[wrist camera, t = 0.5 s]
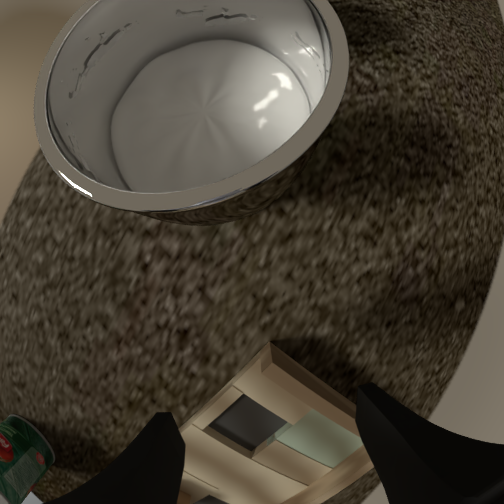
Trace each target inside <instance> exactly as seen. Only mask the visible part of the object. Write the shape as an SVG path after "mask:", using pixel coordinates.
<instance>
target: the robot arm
mask: <svg viewBox="0 0 504 504" xmlns="http://www.w3.org/2000/svg"><path fill="white" fill-rule="evenodd" d="M355 422H356V425H357V428H358V432H359V435H360V438H361V440H362V443H363V445H364V447H365V449H366V451H367V453H368V455H369V457H370V459H371V461H372V463H373V465H374V467H375V469H376V471H377V473H378V475H379V477H380V480H381V482H382V484H383V486H384V489H385V492H386V495H387V497H388V501H389V504H504V444H495V443H489V442H484V441H479V440H475V439H472V438H468V437H465V436H462V435H459V434H456V433H453V432H451V431H448V430H446V429H444V428H442V427H439V426H437V425H435V424H433V423H431V422H429V421H428V420H426V419H424V418H422V417H421V416H419V415H417V414H416V413H414V412H413V411H411V410H410V409H408V408H407V407H405V406H404V405H402V404H401V403H399V402H398V401H397V400H395V399H394V398H393V397H391V396H390V395H389V394H387V393H386V392H385V391H383V390H382V389H381V388H379V387H378V386H377V385H376V384H374V383H373V382H371V383H368V384H364V385H360V386H358V390H357V404H356V417H355ZM185 449H186V444H185V442H184V440H183V438H182V436H181V433H180V431H179V429H178V427H177V425H176V422H175V420H174V418H173V416H172V413H171V412H157V413H156V414H155V415H154V416H153V418H152V419H151V420H150V421H149V422H148V423H147V425H146V426H145V427H144V428H143V429H142V431H141V432H140V433H139V434H138V435H137V437H136V438H135V439H134V440H133V441H132V442H131V443H130V444H129V446H128V447H127V448H126V449H125V450H124V451H123V452H122V453H121V454H120V455H119V456H118V457H117V458H116V459H115V460H114V461H113V462H112V463H111V464H110V465H109V466H107V467H106V468H105V469H104V470H103V471H101V472H100V473H99V474H98V475H96V476H95V477H94V478H92V479H91V480H89V481H88V482H86V483H84V484H83V485H81V486H80V487H78V488H77V489H75V490H73V491H71V492H69V493H67V494H65V495H63V496H61V497H59V498H57V499H54V500H52V501H49V502H46V503H43V504H177V500H178V495H179V490H180V485H181V481H182V476H183V471H184V465H185Z"/></svg>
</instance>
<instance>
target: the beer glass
mask: <svg viewBox="0 0 504 504" xmlns="http://www.w3.org/2000/svg"><path fill="white" fill-rule="evenodd" d="M348 74H349V48H348V42H347V38H346V34H345V31H344V28H343V26H342V23H341V21H340V19H339V17H338V15H337V13H336V12H335V10H334V9H333V7H332V6H331V4H330V3H329V2H328V1H327V0H88V1H87V2H85V3H84V4H83V5H82V6H81V7H80V8H79V9H78V10H77V12H75V14H74V15H73V16H72V17H71V18H70V19H69V20H68V22H67V23H66V24H65V25H64V27H63V28H62V29H61V31H60V32H59V34H58V36H57V37H56V39H55V40H54V42H53V43H52V46H51V47H50V49H49V51H48V53H47V55H46V57H45V60H44V62H43V65H42V67H41V70H40V73H39V77H38V81H37V85H36V90H35V98H34V121H35V128H36V133H37V137H38V141H39V144H40V146H41V149H42V151H43V154H44V156H45V158H46V159H47V161H48V163H49V164H50V166H51V167H52V169H53V170H54V171H55V173H56V174H57V175H58V176H59V177H60V178H61V179H62V180H63V181H64V182H65V183H66V184H67V185H68V186H70V187H71V188H72V189H73V190H75V191H76V192H78V193H79V194H81V195H82V196H84V197H86V198H88V199H90V200H92V201H94V202H96V203H99V204H101V205H104V206H107V207H110V208H114V209H118V210H123V211H129V212H134V213H137V214H140V215H143V216H147V217H150V218H153V219H157V220H161V221H164V222H169V223H176V224H183V225H191V226H210V225H219V224H224V223H229V222H233V221H236V220H240V219H243V218H245V217H248V216H250V215H252V214H254V213H256V212H258V211H260V210H262V209H263V208H265V207H267V206H268V205H270V204H271V203H273V202H274V201H275V200H277V199H278V198H279V197H280V196H281V195H283V194H284V193H285V192H286V191H287V190H288V189H289V188H290V187H291V186H292V184H293V183H294V182H295V181H296V179H297V178H298V177H299V175H300V174H301V173H302V171H303V170H304V168H305V167H306V166H307V164H308V163H309V161H310V159H311V158H312V156H313V154H314V152H315V150H316V148H317V146H318V144H319V142H320V140H321V138H322V136H323V134H324V131H325V129H326V128H327V126H328V125H329V124H330V122H331V120H332V119H333V117H334V115H335V113H336V112H337V110H338V107H339V105H340V103H341V101H342V98H343V95H344V92H345V89H346V85H347V80H348Z"/></svg>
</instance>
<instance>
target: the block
mask: <svg viewBox="0 0 504 504" xmlns="http://www.w3.org/2000/svg"><path fill="white" fill-rule="evenodd" d="M190 499H191V495H189V494H187V493H185V492H183V491H181V490H179V495H178V500H177V504H190Z"/></svg>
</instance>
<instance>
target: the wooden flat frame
mask: <svg viewBox="0 0 504 504" xmlns="http://www.w3.org/2000/svg"><path fill="white" fill-rule="evenodd" d="M355 417H356V404H354V403H353V402H351V401H350V400H348V399H347V398H345V397H344V396H343V395H341V394H340V393H338V392H337V391H336V390H334V389H333V388H331V387H330V386H329V385H327V384H326V383H324V382H323V381H322V380H320V379H319V378H317V377H316V376H315V375H313V374H312V373H311V372H309V371H308V370H307V369H305V368H304V367H302V366H301V365H300V364H298V363H297V362H296V361H294V360H293V359H292V358H290V357H289V356H288V355H287V354H285V353H284V352H283V351H281V350H280V349H279V348H277V347H276V346H275V345H273V344H272V343H271V342H270V341H269V342H268V343H267V344H266V345H265V346H264V347H263V349H262V350H261V351H260V352H259V353H258V354H257V355H256V356H255V357H254V358H253V359H252V360H251V361H250V362H249V363H248V364H247V365H246V366H245V367H244V368H243V369H242V370H241V371H240V372H239V373H238V374H237V375H236V376H235V377H234V378H233V379H232V380H231V381H230V382H229V383H228V384H227V385H225V386H224V387H223V388H222V389H221V390H220V391H219V392H218V393H217V394H216V395H215V396H214V397H213V398H212V399H211V400H210V401H209V402H208V403H207V404H205V405H204V406H203V407H202V408H201V409H200V410H199V411H198V412H197V413H196V414H195V415H193V416H192V417H191V418H190V419H189V420H188V421H187V422H186V423H185V424H183V425H182V426H181V427H180V428H179V431H180V433H181V436H182V438H183V440H184V442H185V444H186V449H185V465H184V471H183V476H182V481H181V485H180V490H181V491H183V492H185V493H187V494H189V495H191V499H190V504H321V503H322V502H324V501H325V500H327V499H329V498H330V497H332V496H333V495H335V494H336V493H338V492H340V491H341V490H343V489H344V488H345V487H347V486H348V485H350V484H351V483H353V482H354V481H356V480H357V479H358V478H360V477H361V476H362V475H364V474H365V473H366V472H368V471H369V470H370V469H372V468H373V467H374V465H373V463H372V461H371V459H370V457H369V455H368V453H367V451H366V449H365V447H364V445H363V443H362V440H361V438H360V435H359V432H358V428H357V425H356V422H355Z"/></svg>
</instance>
